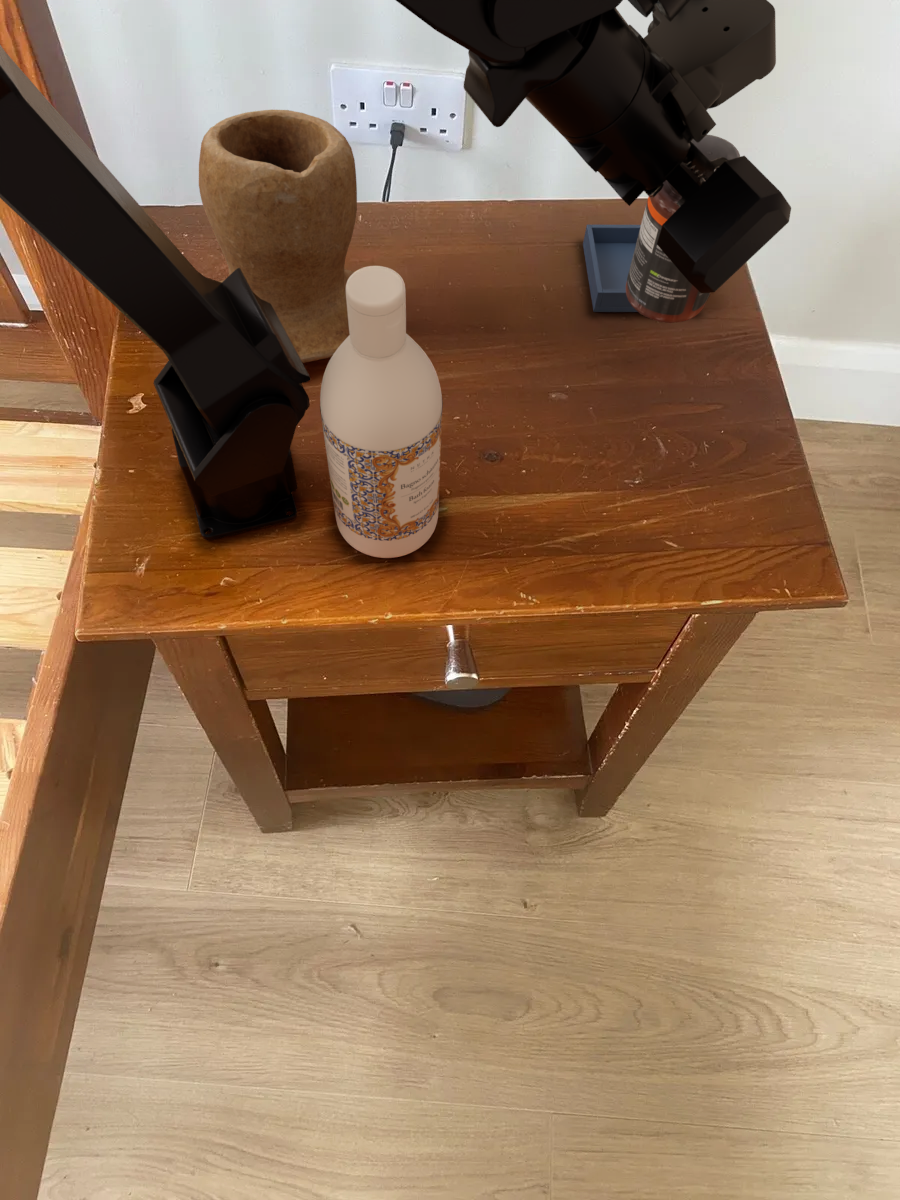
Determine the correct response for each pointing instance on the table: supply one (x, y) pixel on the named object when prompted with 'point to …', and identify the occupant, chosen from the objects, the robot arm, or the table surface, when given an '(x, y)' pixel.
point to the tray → (609, 264)
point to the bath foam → (382, 423)
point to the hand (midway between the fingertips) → (706, 213)
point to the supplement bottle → (651, 271)
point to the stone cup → (285, 217)
